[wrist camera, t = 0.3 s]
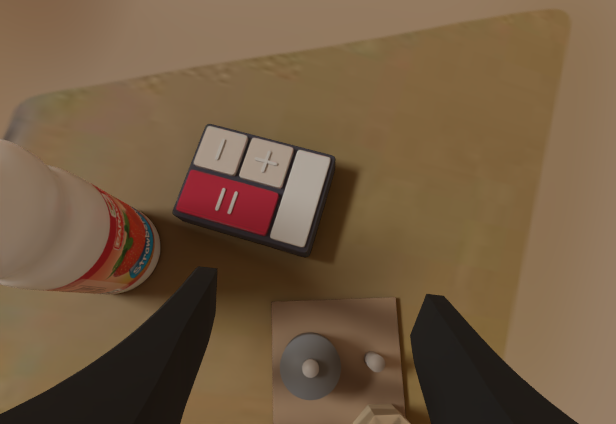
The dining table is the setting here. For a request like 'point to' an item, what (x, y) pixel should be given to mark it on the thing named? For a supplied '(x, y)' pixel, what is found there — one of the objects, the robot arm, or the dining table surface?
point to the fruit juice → (68, 231)
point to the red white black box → (256, 189)
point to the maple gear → (380, 415)
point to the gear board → (351, 347)
